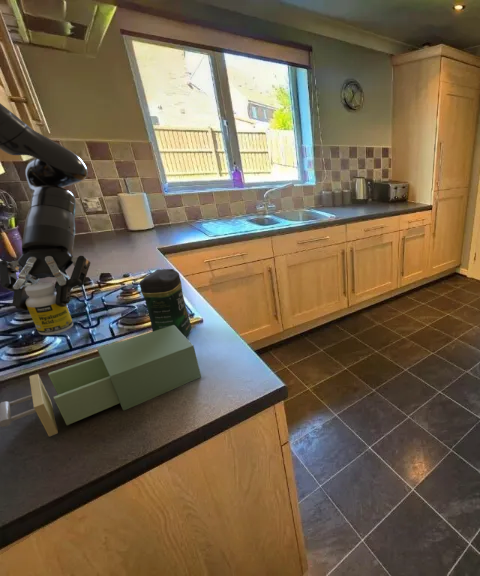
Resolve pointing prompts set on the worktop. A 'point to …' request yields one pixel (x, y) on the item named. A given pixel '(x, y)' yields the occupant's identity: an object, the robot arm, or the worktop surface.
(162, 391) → the cabinet
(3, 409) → the drawer
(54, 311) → the supplement bottle
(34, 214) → the robot arm
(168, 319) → the coffee jar
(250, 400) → the worktop surface
